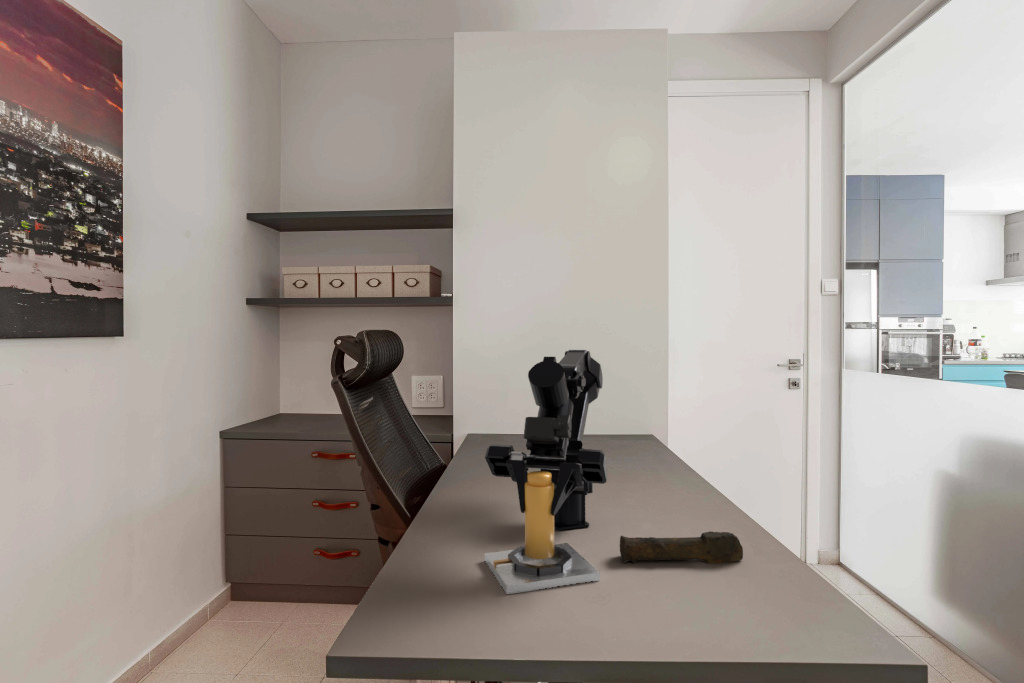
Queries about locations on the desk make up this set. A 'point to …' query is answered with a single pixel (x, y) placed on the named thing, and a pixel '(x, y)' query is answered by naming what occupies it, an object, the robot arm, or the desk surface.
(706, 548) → the hand tool
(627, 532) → the desk surface
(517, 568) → the plate
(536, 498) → the domed yellow peg
